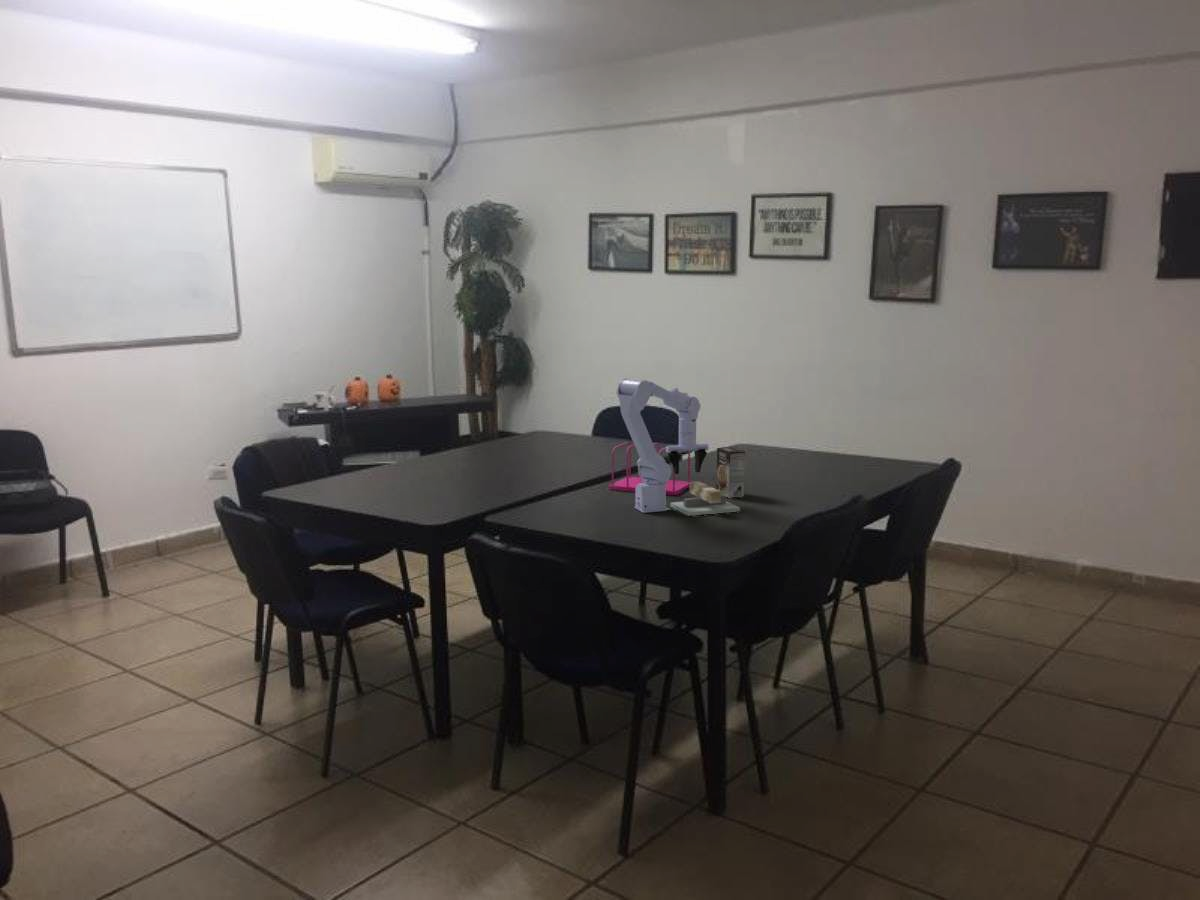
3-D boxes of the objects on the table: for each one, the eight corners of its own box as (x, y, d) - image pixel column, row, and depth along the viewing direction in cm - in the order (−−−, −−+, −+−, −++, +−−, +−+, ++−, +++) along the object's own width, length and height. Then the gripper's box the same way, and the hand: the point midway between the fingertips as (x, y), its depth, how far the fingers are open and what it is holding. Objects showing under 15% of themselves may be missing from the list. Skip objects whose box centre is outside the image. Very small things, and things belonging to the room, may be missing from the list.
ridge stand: (688, 516, 300) (688, 504, 300) (670, 507, 314) (670, 495, 313) (739, 512, 306) (740, 499, 306) (720, 502, 319) (720, 490, 319)
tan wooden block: (689, 492, 316) (689, 482, 316) (699, 491, 317) (699, 481, 317) (710, 503, 301) (710, 492, 301) (720, 502, 302) (720, 491, 302)
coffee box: (715, 493, 333) (716, 447, 330) (731, 491, 336) (732, 446, 333) (727, 498, 325) (728, 451, 322) (744, 497, 327) (745, 450, 324)
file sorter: (675, 496, 329) (676, 451, 326) (608, 490, 339) (608, 446, 337) (692, 486, 345) (693, 443, 342) (628, 481, 355) (628, 439, 352)
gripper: (671, 435, 311) (671, 476, 313) (712, 432, 315) (712, 473, 318) (663, 432, 317) (663, 472, 320) (703, 429, 322) (703, 469, 324)
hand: (687, 472), depth 319 cm, fingers open, 7 cm apart
